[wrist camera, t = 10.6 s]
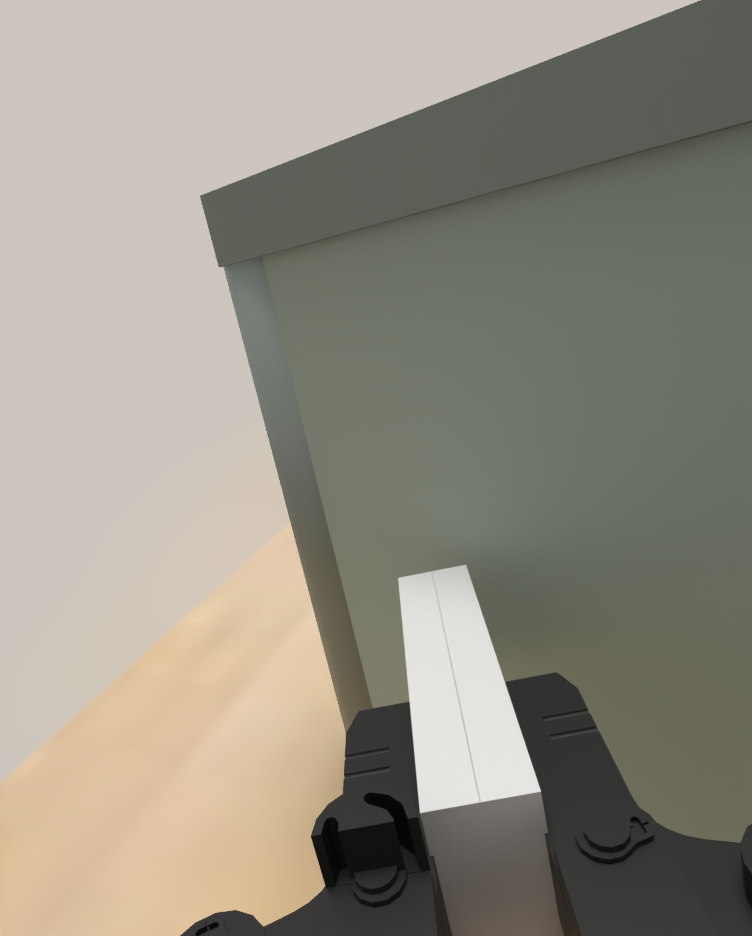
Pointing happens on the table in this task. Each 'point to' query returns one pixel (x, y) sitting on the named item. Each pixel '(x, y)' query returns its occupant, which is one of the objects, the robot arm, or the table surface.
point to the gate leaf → (532, 387)
